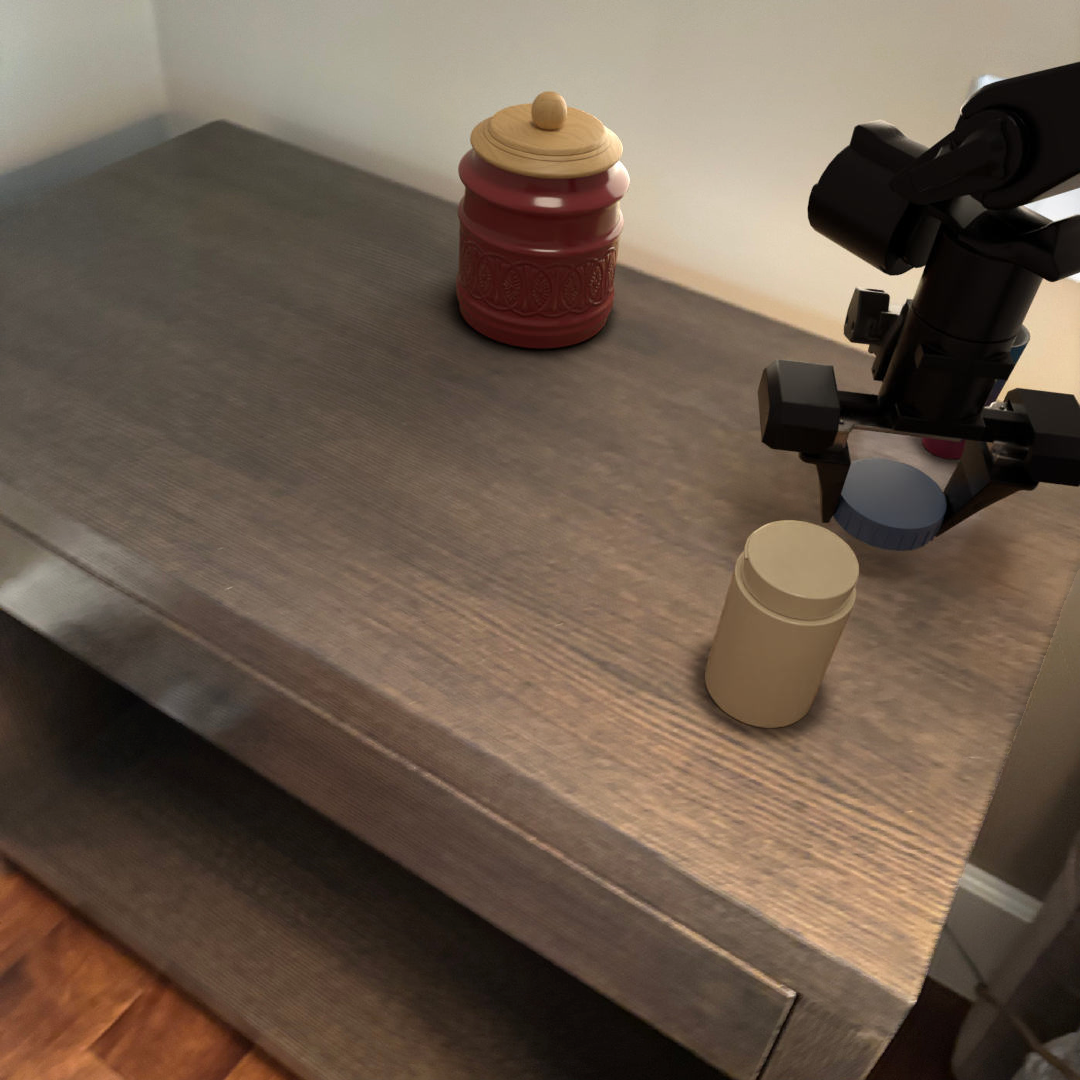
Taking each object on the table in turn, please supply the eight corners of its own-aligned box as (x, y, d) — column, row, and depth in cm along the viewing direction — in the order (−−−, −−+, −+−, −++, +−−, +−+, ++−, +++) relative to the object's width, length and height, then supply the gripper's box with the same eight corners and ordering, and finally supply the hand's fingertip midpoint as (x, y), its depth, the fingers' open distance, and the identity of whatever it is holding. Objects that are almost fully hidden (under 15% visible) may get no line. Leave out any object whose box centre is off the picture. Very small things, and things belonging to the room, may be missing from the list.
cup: (921, 418, 78) (968, 303, 71) (980, 439, 77) (1035, 323, 70) (906, 450, 75) (955, 332, 68) (969, 472, 74) (1024, 354, 67)
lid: (854, 465, 69) (862, 443, 68) (952, 510, 66) (963, 488, 65) (810, 518, 65) (818, 495, 63) (914, 568, 62) (924, 546, 61)
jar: (808, 649, 60) (857, 523, 53) (818, 735, 56) (873, 610, 49) (703, 635, 60) (739, 508, 53) (704, 720, 56) (743, 594, 49)
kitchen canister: (640, 333, 84) (676, 116, 72) (499, 367, 79) (511, 141, 67) (563, 259, 92) (583, 52, 80) (430, 286, 87) (430, 70, 75)
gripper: (1096, 262, 61) (996, 464, 72) (783, 225, 61) (730, 432, 72) (1158, 367, 53) (1035, 577, 64) (797, 323, 53) (736, 539, 64)
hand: (878, 525), depth 66 cm, fingers closed on lid, 7 cm apart
